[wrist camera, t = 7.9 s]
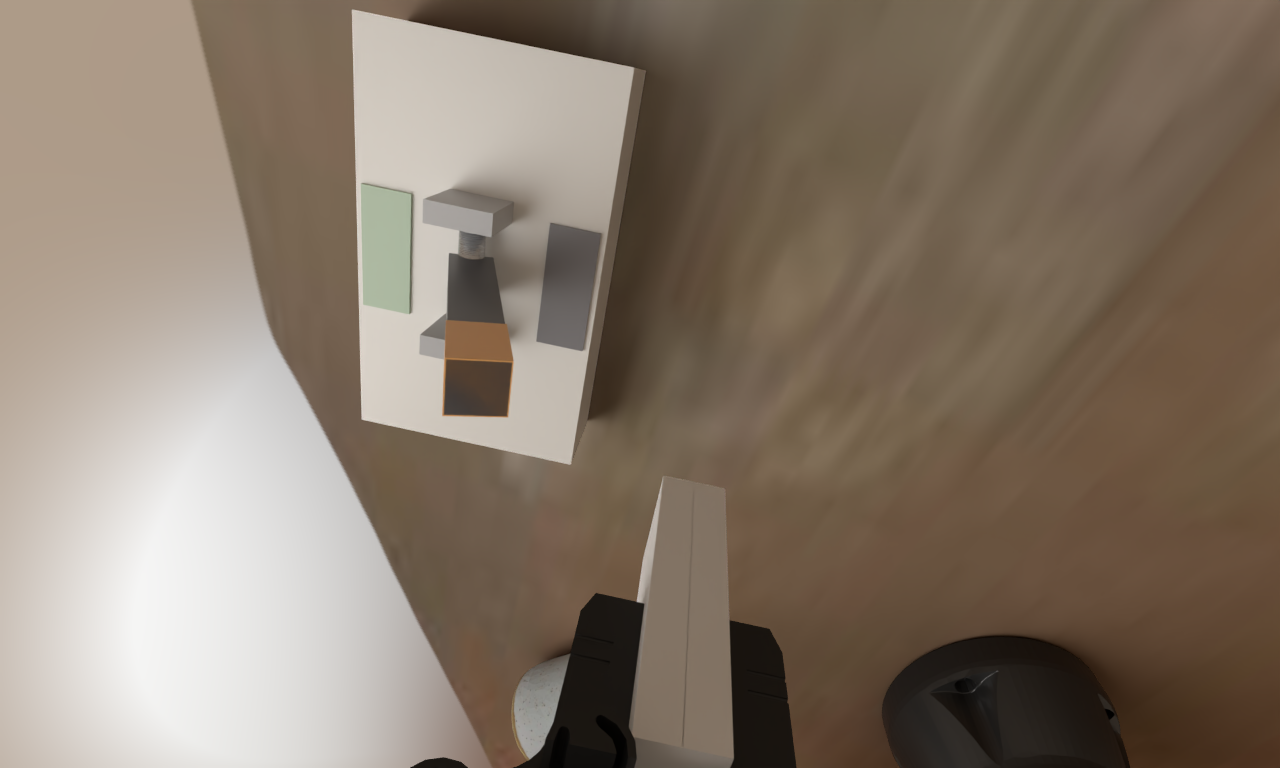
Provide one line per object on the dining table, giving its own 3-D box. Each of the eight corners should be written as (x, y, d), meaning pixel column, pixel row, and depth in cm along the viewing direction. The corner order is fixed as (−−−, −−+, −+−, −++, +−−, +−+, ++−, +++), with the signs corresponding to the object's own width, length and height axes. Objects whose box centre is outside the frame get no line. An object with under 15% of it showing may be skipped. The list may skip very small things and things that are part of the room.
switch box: (587, 421, 39) (558, 496, 32) (402, 381, 39) (332, 447, 32) (646, 70, 30) (624, 65, 23) (405, 21, 30) (309, 0, 23)
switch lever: (488, 315, 31) (505, 446, 21) (444, 312, 30) (440, 445, 20) (495, 228, 29) (517, 328, 19) (448, 223, 28) (446, 323, 18)
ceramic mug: (520, 648, 48) (489, 742, 42) (607, 616, 46) (590, 711, 39) (592, 729, 52) (574, 827, 45) (676, 704, 50) (671, 804, 43)
